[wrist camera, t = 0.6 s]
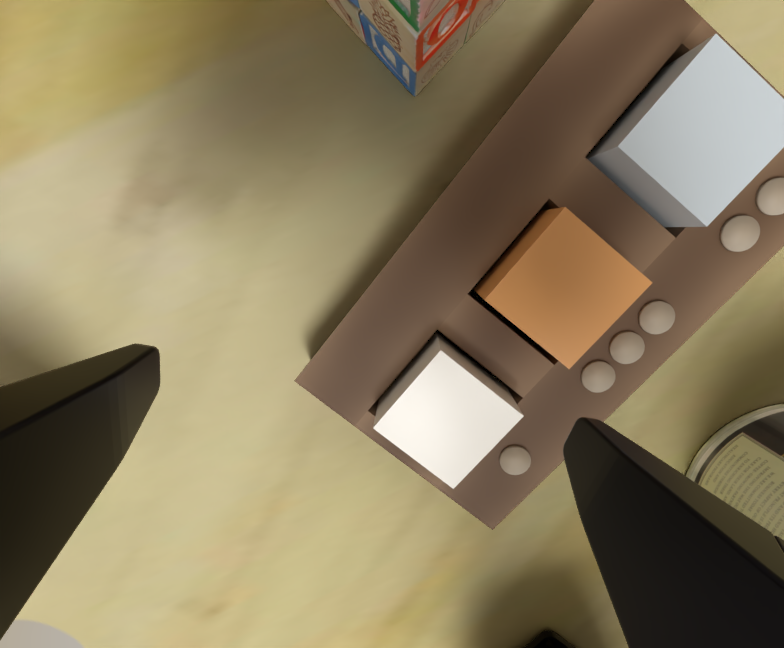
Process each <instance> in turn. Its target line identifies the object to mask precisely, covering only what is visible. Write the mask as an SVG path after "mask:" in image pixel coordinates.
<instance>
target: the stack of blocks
mask: <svg viewBox="0 0 784 648" xmlns="http://www.w3.org/2000/svg"><path fill="white" fill-rule="evenodd" d="M326 1H327V2H328V3H329V5H330V6H331V7H332V8H333V9H334V10H335V11H336V12H337V14H338V15H339V16H340V17H341V18H342V19H343V20H344V21H345V23H346V24H347V25H348V26H349V27H350V28H351V29H352V30H353V31H354V33H355V34H356V35H357V36H358V37H359V38H360V39H361V40H362V41H363V42H364V43H365V44H366V45H368V46H369V47H370V49H371V50H372V51H373V52H374V53H375V55H376V56H377V57H378V58H379V59H380V60H381V61H382V62H383V64H384V65H385V66H386V67H387V68H388V69H389V70H390V71H391V72H392V73H393V75H394V76H395V77H396V78H397V79H398V80H399V81H400V82H401V83H402V84H403V85H404V87H405V88H406V89H407V90H408V91H409V92H410V93H411V94H412V95H413V96H414V97H415V96H417V95H418V94H419V93H420V91H421V90H422V89H423V88H424V87H425V86H426V85H427V84H428V83H429V82H430V80H431V79H432V78H433V77H434V76H435V75H436V74H437V73H438V72H439V71H440V70H441V69H442V68H443V66H444V65H445V64H446V63H447V62H448V61H449V60H450V59H451V58H452V57H453V56H454V55H455V54H456V53H457V51H458V50H459V49H460V48H461V47H462V46H463V44H465V43H466V42H467V41H468V40H469V39H470V38H471V37H472V36H473V35H474V34H475V33H476V32H477V31H478V30H479V29H480V28H481V27H482V25H483V24H484V23H485V22H486V21H487V20H488V19H489V18H490V17H491V16H492V15H493V13H494V12H495V11H496V10H497V9H498V8H499V7H500V6H501V4H502V3H503V2H504V1H505V0H326Z"/></svg>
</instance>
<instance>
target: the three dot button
mask: <svg viewBox="0 0 784 648" xmlns="http://www.w3.org/2000/svg"><path fill="white" fill-rule="evenodd" d="M651 284H652V282H651V281H650V280H649V279H648V278H647V277H646V276H644V275H643V274H642V273H641V272H640V271H639V270H637V269H636V268H635V267H634V266H633V265H632V264H631V263H629V262H628V261H627V260H626V259H625V258H624V257H622V256H621V255H620V254H619V253H618V252H617V251H616V250H614V249H613V248H612V247H611V246H610V245H609V244H608V243H606V242H605V241H604V240H603V239H602V238H601V237H599V236H598V235H597V234H596V233H595V232H594V231H593V230H591V229H590V228H589V227H588V226H587V225H586V224H585V223H583V222H582V221H581V220H580V219H579V218H578V217H576V216H575V215H574V214H573V213H572V212H571V211H570V210H568V209H567V208H566V207H561V208H555V209H549V210H542V211H540V212H539V213H538V215H537V216H536V217H535V218H534V219H533V220H532V222H531V223H530V224H529V225H528V226H527V227H526V229H525V230H524V231H523V232H522V233H521V234H520V236H519V237H518V238H517V239H516V240H515V241H514V243H513V244H512V245H511V246H510V247H509V248H508V250H507V251H506V252H505V253H504V254H503V255H502V257H501V258H500V259H499V260H498V261H497V262H496V264H495V265H494V266H493V267H492V268H491V269H490V271H489V272H488V273H487V274H486V275H485V276H484V278H483V279H482V280H481V281H480V282H479V284H478V285H477V286H476V287H475V288H474V290H475V291H476V292H477V293H478V294H479V295H480V296H481V297H482V298H483V299H484V300H485V301H486V302H487V303H489V304H490V305H491V306H492V307H494V308H495V309H496V310H497V311H498V312H500V313H501V314H502V315H503V316H505V317H506V318H507V319H508V320H509V321H511V322H512V323H513V324H514V325H516V326H517V327H518V328H519V329H520V330H522V331H523V332H524V333H525V334H527V335H528V336H529V337H530V338H531V339H533V340H534V341H535V342H536V343H538V344H539V345H540V346H541V347H542V348H544V349H545V350H546V351H547V352H549V353H550V354H551V355H552V356H553V357H555V358H556V359H557V360H558V361H560V362H561V363H562V364H563V365H564V366H566V367H567V368H568V369H570V368H571V367H572V366H573V365H574V364H575V363H576V362H577V361H578V360H579V359H580V358H581V357H582V355H583V354H584V353H585V352H586V351H587V350H588V349H589V348H590V347H591V346H592V345H593V344H594V343H595V342H596V341H597V340H598V339H599V338H600V337H601V336H602V335H603V334H604V333H605V332H606V331H607V330H608V329H609V328H610V326H611V325H612V324H613V323H614V322H615V321H616V320H617V319H618V318H619V317H620V316H621V315H622V314H623V313H624V312H625V311H626V310H627V309H628V308H629V307H630V306H631V305H632V304H633V303H634V302H635V301H636V300H637V299H638V298H639V296H640V295H641V294H642V293H643V292H644V291H645V290H646V289H647V288H648V287H649V286H650V285H651Z"/></svg>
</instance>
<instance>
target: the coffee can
mask: <svg viewBox="0 0 784 648" xmlns="http://www.w3.org/2000/svg"><path fill="white" fill-rule="evenodd" d="M686 477H688V478H689V479H691V480H692V481H694V482H695V483H697V484H698V485H700V486H701V487H703V488H704V489H706V490H708V491H709V492H711V493H712V494H714V495H715V496H717V497H718V498H720V499H721V500H723V501H724V502H726V503H727V504H729V505H730V506H732V507H734V508H735V509H737V510H738V511H740V512H741V513H743V514H744V515H746V516H747V517H749V518H750V519H752V520H753V521H755V522H756V523H758V524H760V525H761V526H763V527H764V528H766V529H767V530H769V531H770V532H772V534H773V536H778V537H780V538H781V539H783V540H784V404H777V405H772V406H767V407H764V408H761V409H758V410H755V411H752V412H750V413H747V414H745V415H743V416H741V417H739V418H737V419H735V420H734V421H732V422H730V423H729V424H727V425H725V426H724V427H723V428H721V429H720V430H718V431H717V432H716V433H715V434H714V435H713V436H712V437H711V438H710V439H709V440H708V441H707V442H706V443H705V444H704V445H703V446H702V448H701V449H700V450H699V451H698V453H697V455H696V456H695V458H694V459H693V461H692V463H691V465H690V467H689V469H688V471H687V474H686Z"/></svg>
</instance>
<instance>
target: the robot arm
mask: <svg viewBox="0 0 784 648" xmlns="http://www.w3.org/2000/svg"><path fill="white" fill-rule="evenodd" d="M159 387H160V354H159V350H158V349H157V348H156V347H154V346H149V345H143V344H132V345H128V346H125V347H122V348H119V349H116V350H113V351H110V352H107V353H104V354H101V355H98V356H95V357H92V358H88V359H85V360H82V361H79V362H76V363H73V364H70V365H67V366H64V367H61V368H58V369H55V370H51V371H48V372H45V373H42V374H39V375H36V376H33V377H30V378H27V379H24V380H21V381H18V382H15V383H11V384H8V385H5V386H2V387H0V640H1V639H2V637H3V635H4V634H5V633H6V631H7V630H8V628H9V627H10V625H11V624H12V622H13V621H14V619H15V618H16V616H17V615H18V614H19V612H20V611H21V609H22V608H23V606H24V605H25V603H26V602H27V600H28V599H29V597H30V596H31V594H32V593H33V591H34V590H35V588H36V587H37V586H38V584H39V583H40V581H41V580H42V578H43V577H44V575H45V574H46V572H47V571H48V569H49V568H50V566H51V565H52V563H53V562H54V560H55V559H56V557H57V556H58V555H59V553H60V552H61V550H62V549H63V547H64V546H65V544H66V543H67V541H68V540H69V538H70V537H71V535H72V534H73V532H74V531H75V529H76V528H77V527H78V525H79V524H80V522H81V521H82V519H83V518H84V516H85V515H86V513H87V512H88V510H89V509H90V507H91V506H92V504H93V503H94V501H95V500H96V498H97V497H98V496H99V494H100V493H101V491H102V490H103V488H104V487H105V485H106V484H107V482H108V481H109V479H110V478H111V476H112V475H113V473H114V472H115V470H116V469H117V467H118V466H119V464H120V463H121V461H122V460H123V458H124V456H125V454H126V452H127V451H128V449H129V447H130V445H131V443H132V441H133V439H134V437H135V435H136V434H137V432H138V430H139V428H140V426H141V424H142V422H143V420H144V418H145V416H146V414H147V412H148V411H149V409H150V407H151V405H152V403H153V401H154V399H155V397H156V395H157V393H158V390H159ZM563 456H564V460H565V463H566V467H567V471H568V474H569V478H570V482H571V486H572V489H573V493H574V497H575V501H576V504H577V508H578V511H579V515H580V518H581V521H582V524H583V527H584V530H585V532H586V535H587V538H588V540H589V543H590V545H591V548H592V551H593V553H594V556H595V559H596V561H597V564H598V567H599V569H600V572H601V575H602V577H603V580H604V583H605V585H606V588H607V591H608V593H609V596H610V599H611V601H612V604H613V607H614V609H615V612H616V615H617V617H618V620H619V623H620V625H621V628H622V631H623V633H624V636H625V639H626V641H627V644H628V646H629V648H784V540H783V539H781V538H780V537H778V536H773V534H772V532H770V531H769V530H767V529H766V528H764V527H763V526H761V525H760V524H758V523H756V522H755V521H753V520H752V519H750V518H749V517H747V516H746V515H744V514H743V513H741V512H740V511H738V510H737V509H735V508H734V507H732V506H730V505H729V504H727V503H726V502H724V501H723V500H721V499H720V498H718V497H717V496H715V495H714V494H712V493H711V492H709V491H708V490H706V489H704V488H703V487H701V486H700V485H698V484H697V483H695V482H694V481H692V480H691V479H689V478H688V477H686V476H685V475H683V474H682V473H680V472H678V471H677V470H675V469H674V468H672V467H671V466H669V465H668V464H666V463H665V462H663V461H662V460H660V459H659V458H657V457H656V456H654V455H652V454H651V453H649V452H648V451H646V450H645V449H643V448H642V447H640V446H639V445H637V444H636V443H634V442H633V441H631V440H630V439H628V438H626V437H625V436H623V435H622V434H620V433H619V432H617V431H616V430H614V429H613V428H611V427H610V426H608V425H607V424H605V423H604V422H602V421H600V420H598V419H594V418H587V417H581V418H579V419H577V420H576V422H575V424H574V426H573V428H572V430H571V432H570V433H569V435H568V437H567V439H566V441H565V443H564V447H563ZM524 648H575V647H574V646H572V645H571V644H570V643H568V642H567V641H565V640H564V639H563V638H561V637H560V636H559V635H557V634H556V633H555V632H553V631H550V630H546V631H543V632H542V633H541V634H539V635H538V636H537V637H536V638H535V639H534V640H533V641H531V642H530V643H529V644H528V645H527V646H526V647H524Z"/></svg>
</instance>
